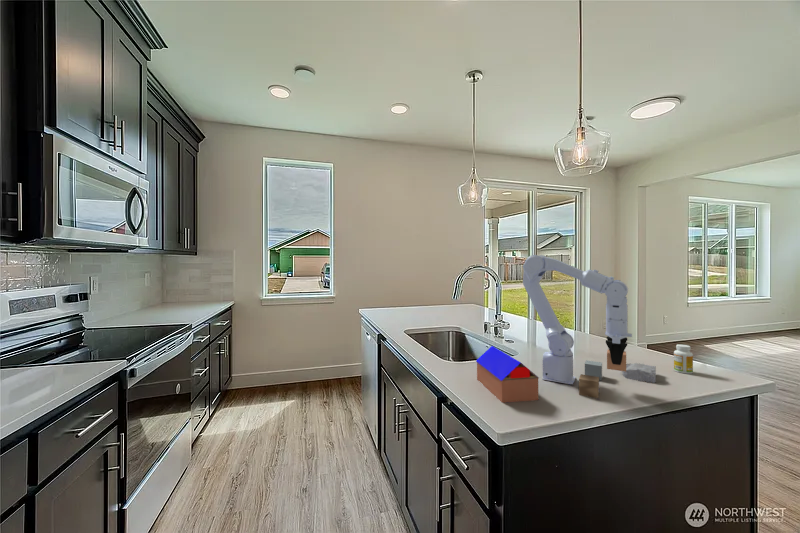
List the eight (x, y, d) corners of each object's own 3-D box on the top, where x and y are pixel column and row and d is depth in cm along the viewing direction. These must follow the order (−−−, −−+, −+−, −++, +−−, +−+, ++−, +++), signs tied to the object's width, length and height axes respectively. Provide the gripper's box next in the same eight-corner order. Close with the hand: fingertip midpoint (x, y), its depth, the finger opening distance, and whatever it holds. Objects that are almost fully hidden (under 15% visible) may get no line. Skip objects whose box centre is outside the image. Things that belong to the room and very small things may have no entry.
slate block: (584, 377, 117) (584, 363, 117) (586, 374, 121) (586, 360, 121) (601, 380, 114) (601, 366, 114) (602, 376, 118) (602, 362, 118)
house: (508, 377, 118) (508, 344, 118) (540, 401, 98) (539, 361, 98) (475, 379, 116) (475, 346, 116) (501, 403, 96) (501, 363, 96)
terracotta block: (607, 368, 104) (606, 352, 104) (607, 364, 108) (607, 349, 108) (626, 371, 102) (626, 355, 102) (626, 367, 106) (626, 351, 106)
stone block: (623, 384, 116) (659, 384, 110) (620, 369, 116) (655, 369, 111) (625, 375, 125) (658, 375, 119) (621, 362, 126) (654, 361, 120)
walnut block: (578, 395, 102) (578, 378, 102) (580, 389, 106) (580, 374, 106) (598, 398, 99) (597, 381, 99) (599, 393, 103) (598, 377, 103)
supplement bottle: (691, 370, 123) (691, 344, 123) (694, 375, 118) (694, 348, 118) (672, 368, 126) (672, 343, 126) (675, 372, 121) (675, 346, 121)
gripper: (632, 323, 97) (632, 370, 97) (631, 316, 109) (631, 358, 109) (604, 321, 101) (604, 366, 101) (606, 315, 113) (606, 355, 113)
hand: (616, 361), depth 105 cm, fingers closed on terracotta block, 5 cm apart
